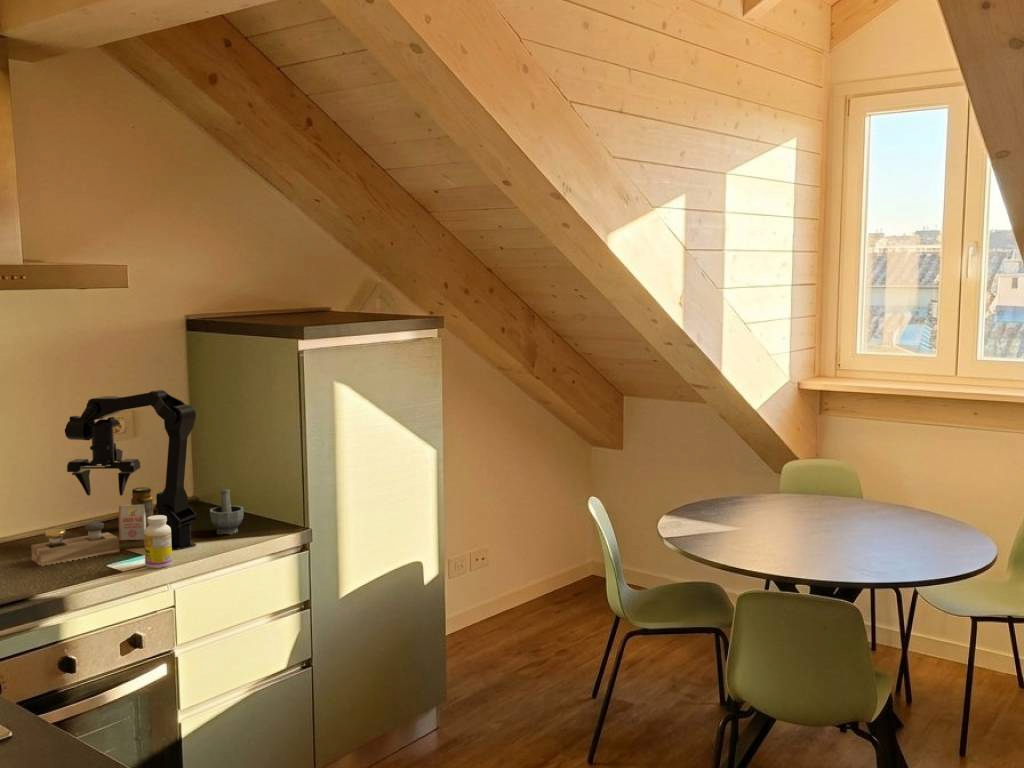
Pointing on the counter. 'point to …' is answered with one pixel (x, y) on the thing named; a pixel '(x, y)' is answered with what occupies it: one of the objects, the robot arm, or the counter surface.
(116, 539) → the oak block
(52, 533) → the brass plug
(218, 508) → the mortar and pestle
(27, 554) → the counter surface
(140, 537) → the white printed box
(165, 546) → the supplement bottle
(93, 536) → the grey domed piece
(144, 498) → the condiment
